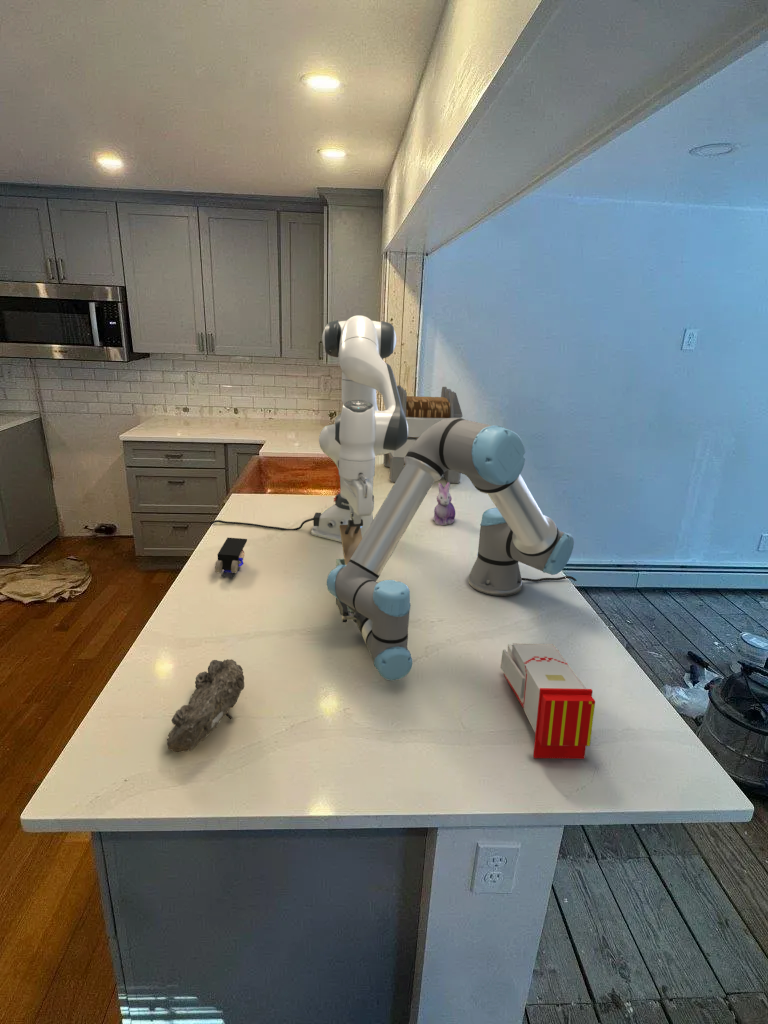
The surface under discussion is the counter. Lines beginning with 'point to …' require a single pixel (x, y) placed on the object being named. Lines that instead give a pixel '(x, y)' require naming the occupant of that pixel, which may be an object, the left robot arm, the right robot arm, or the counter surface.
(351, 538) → the lid
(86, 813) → the counter surface
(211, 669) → the fossil
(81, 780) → the counter surface
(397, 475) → the transformer
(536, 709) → the toy
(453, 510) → the figurine
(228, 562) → the figurine character
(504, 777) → the counter surface
